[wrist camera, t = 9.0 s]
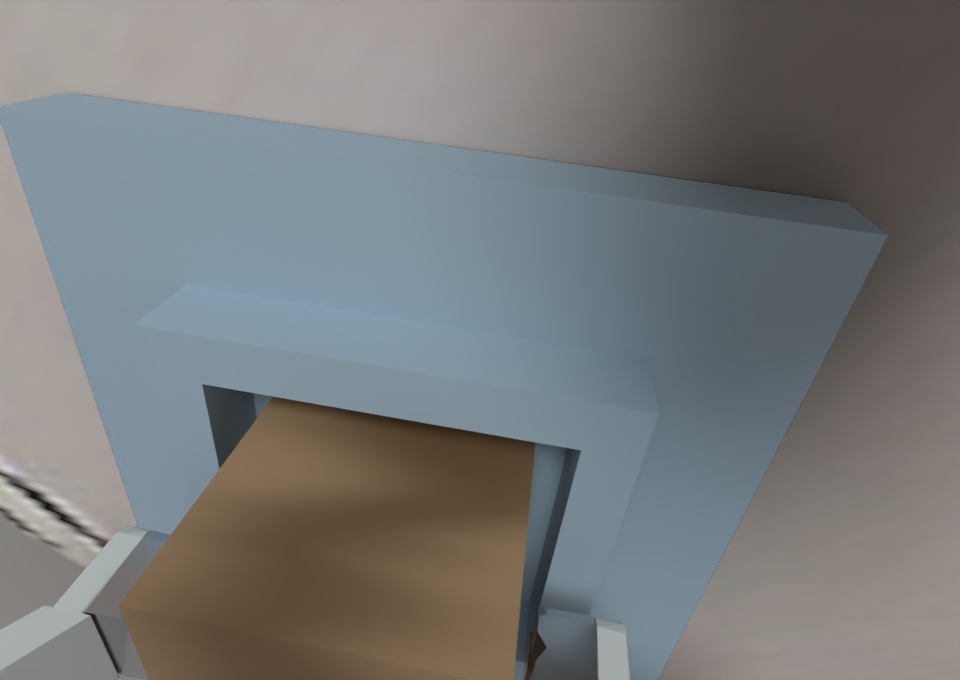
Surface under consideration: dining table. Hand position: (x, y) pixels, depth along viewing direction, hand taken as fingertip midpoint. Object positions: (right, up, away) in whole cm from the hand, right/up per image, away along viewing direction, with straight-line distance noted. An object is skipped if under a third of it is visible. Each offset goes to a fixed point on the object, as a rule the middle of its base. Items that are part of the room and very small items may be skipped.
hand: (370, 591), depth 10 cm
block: (0, +1, +2) cm, 3 cm away
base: (+1, +2, +3) cm, 4 cm away
